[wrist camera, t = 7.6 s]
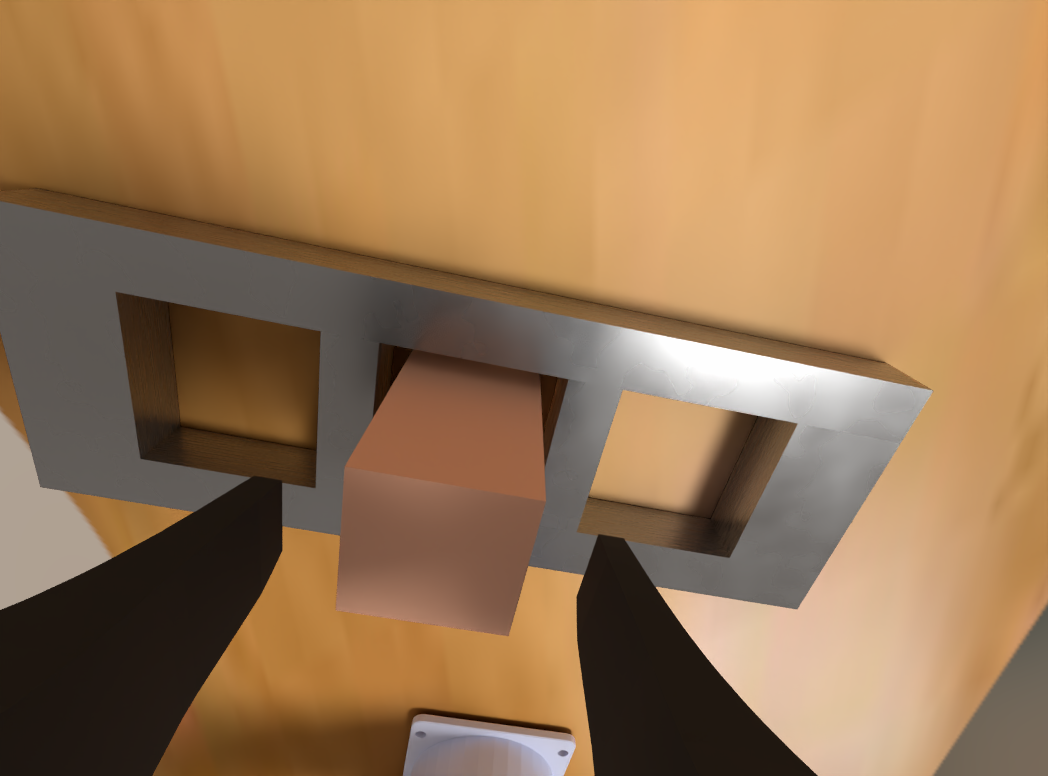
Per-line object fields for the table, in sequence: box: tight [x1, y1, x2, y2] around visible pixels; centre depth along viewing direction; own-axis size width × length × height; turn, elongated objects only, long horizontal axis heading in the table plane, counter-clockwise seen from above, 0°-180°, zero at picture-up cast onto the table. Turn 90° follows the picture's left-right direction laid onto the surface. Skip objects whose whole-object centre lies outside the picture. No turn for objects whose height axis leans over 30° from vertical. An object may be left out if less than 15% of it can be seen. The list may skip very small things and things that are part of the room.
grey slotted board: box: [0, 188, 933, 609], centre depth 16 cm, size 9×26×2 cm, turn 78°
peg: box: [336, 349, 546, 636], centre depth 14 cm, size 4×4×7 cm
